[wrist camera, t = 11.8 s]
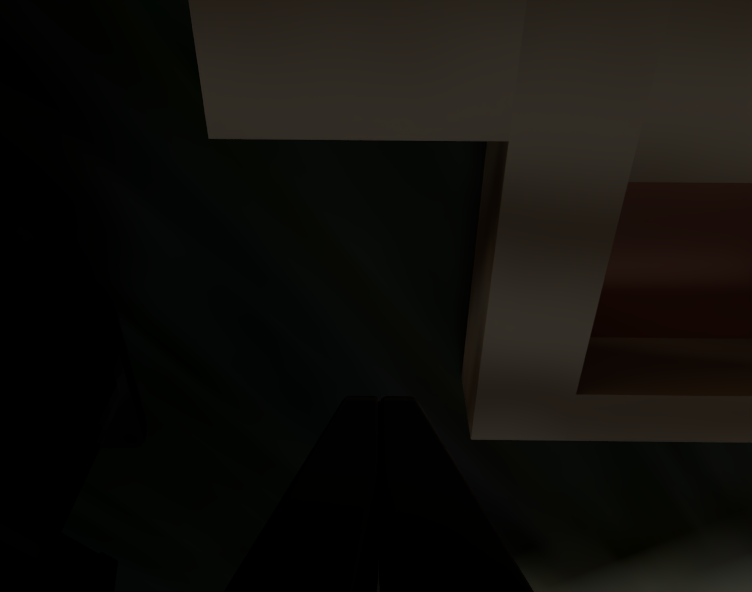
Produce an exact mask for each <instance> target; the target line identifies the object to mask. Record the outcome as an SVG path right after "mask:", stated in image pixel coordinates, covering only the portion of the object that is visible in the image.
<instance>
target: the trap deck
mask: <svg viewBox="0 0 752 592" xmlns="http://www.w3.org/2000/svg"><path fill="white" fill-rule="evenodd" d="M189 7H190V14H191V21H192V28H193V34H194V41H195V48H196V55H197V62H198V69H199V75H200V82H201V89H202V96H203V103H204V110H205V116H206V123H207V130H208V137H209V139H304V140H416V141H487V145H486V154H485V164H484V173H483V182H482V192H481V201H480V210H479V220H478V229H477V238H476V247H475V257H474V266H473V275H472V285H471V294H470V303H469V312H468V322H467V331H466V340H465V350H464V359H463V368H462V382H463V389H464V396H465V403H466V410H467V417H468V423H469V430H470V437H471V439H476V440H570V441H664V442H752V0H189Z"/></svg>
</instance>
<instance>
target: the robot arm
mask: <svg viewBox="0 0 752 592" xmlns="http://www.w3.org/2000/svg"><path fill="white" fill-rule="evenodd" d="M93 315H94V316H98V317H99V318H101V319H102V321H100V320H97V319H95V318H94V317H93ZM131 434H132V435H131ZM146 435H147V430H146V427H145V423H144V419H143V416H142V412H141V408H140V405H139V401H138V398H137V394H136V390H135V387H134V383H133V379H132V376H131V372H130V369H129V365H128V361H127V358H126V354H125V350H124V347H123V343H122V340H121V336H120V332H119V329H118V325H117V322H116V318H115V314H114V313H113V311H112V309H111V308H109V307H108V306H107V305H105V304H103V303H97V302H37V301H23V300H0V592H114V588H115V581H116V573H117V565H118V561H117V560H116V559H114V558H112V557H110V556H109V555H107V554H105V553H103V552H101V553H99V554H98V553H97V552H95V551H93V550H91V549H90V548H88V547H86V546H84V545H83V544H81V543H79V542H77V541H76V540H74V539H72V538H70V537H68V536H67V535H65V534H63V533H61V531H62V529H63V527H64V525H65V523H66V521H67V518H68V516H69V514H70V512H71V510H72V508H73V505H74V503H75V501H76V499H77V497H78V495H79V493H80V490H81V488H82V486H83V484H84V482H85V480H86V477H87V475H88V473H89V471H90V469H91V467H92V464H93V462H94V460H95V458H96V456H97V454H98V451H99V449H100V448H137V447H139V446H141V445H142V444H143V443H144V440H145V438H146ZM378 561H379V584H380V592H533V590H532V588H531V587H530V585H529V583H528V582H527V580H526V578H525V577H524V575H523V573H522V572H521V570H520V569H519V567H518V565H517V564H516V562H515V560H514V559H513V557H512V555H511V554H510V552H509V550H508V549H507V547H506V545H505V544H504V542H503V541H502V539H501V537H500V536H499V534H498V532H497V531H496V529H495V527H494V526H493V524H492V522H491V521H490V519H489V517H488V516H487V514H486V513H485V511H484V509H483V508H482V506H481V504H480V503H479V501H478V499H477V498H476V496H475V494H474V493H473V491H472V489H471V488H470V486H469V485H468V483H467V481H466V480H465V478H464V476H463V475H462V473H461V471H460V470H459V468H458V466H457V465H456V463H455V461H454V460H453V458H452V457H451V455H450V453H449V452H448V450H447V448H446V447H445V445H444V443H443V442H442V440H441V438H440V437H439V435H438V433H437V432H436V430H435V429H434V427H433V425H432V424H431V422H430V420H429V419H428V417H427V415H426V414H425V412H424V410H423V409H422V407H421V406H420V404H419V402H418V401H417V400H416V399H415V398H413V397H406V396H386V397H383V398H382V399H381V402H380V400H379V399H378V398H377V397H375V396H348V397H346V398H345V399H344V400H343V401H342V402H341V404H340V405H339V407H338V409H337V410H336V412H335V413H334V415H333V417H332V418H331V420H330V422H329V423H328V425H327V426H326V428H325V430H324V431H323V433H322V434H321V436H320V438H319V439H318V441H317V442H316V444H315V446H314V447H313V449H312V450H311V452H310V454H309V455H308V457H307V459H306V460H305V462H304V463H303V465H302V467H301V468H300V470H299V471H298V473H297V475H296V476H295V478H294V479H293V481H292V483H291V484H290V486H289V488H288V489H287V491H286V492H285V494H284V496H283V497H282V499H281V500H280V502H279V504H278V505H277V507H276V508H275V510H274V512H273V513H272V515H271V517H270V518H269V520H268V521H267V523H266V525H265V526H264V528H263V529H262V531H261V533H260V534H259V536H258V537H257V539H256V541H255V542H254V544H253V546H252V547H251V549H250V550H249V552H248V554H247V555H246V557H245V558H244V560H243V562H242V563H241V565H240V566H239V568H238V570H237V571H236V573H235V574H234V576H233V578H232V579H231V581H230V583H229V584H228V586H227V587H226V589H225V591H224V592H377V585H378Z"/></svg>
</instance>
